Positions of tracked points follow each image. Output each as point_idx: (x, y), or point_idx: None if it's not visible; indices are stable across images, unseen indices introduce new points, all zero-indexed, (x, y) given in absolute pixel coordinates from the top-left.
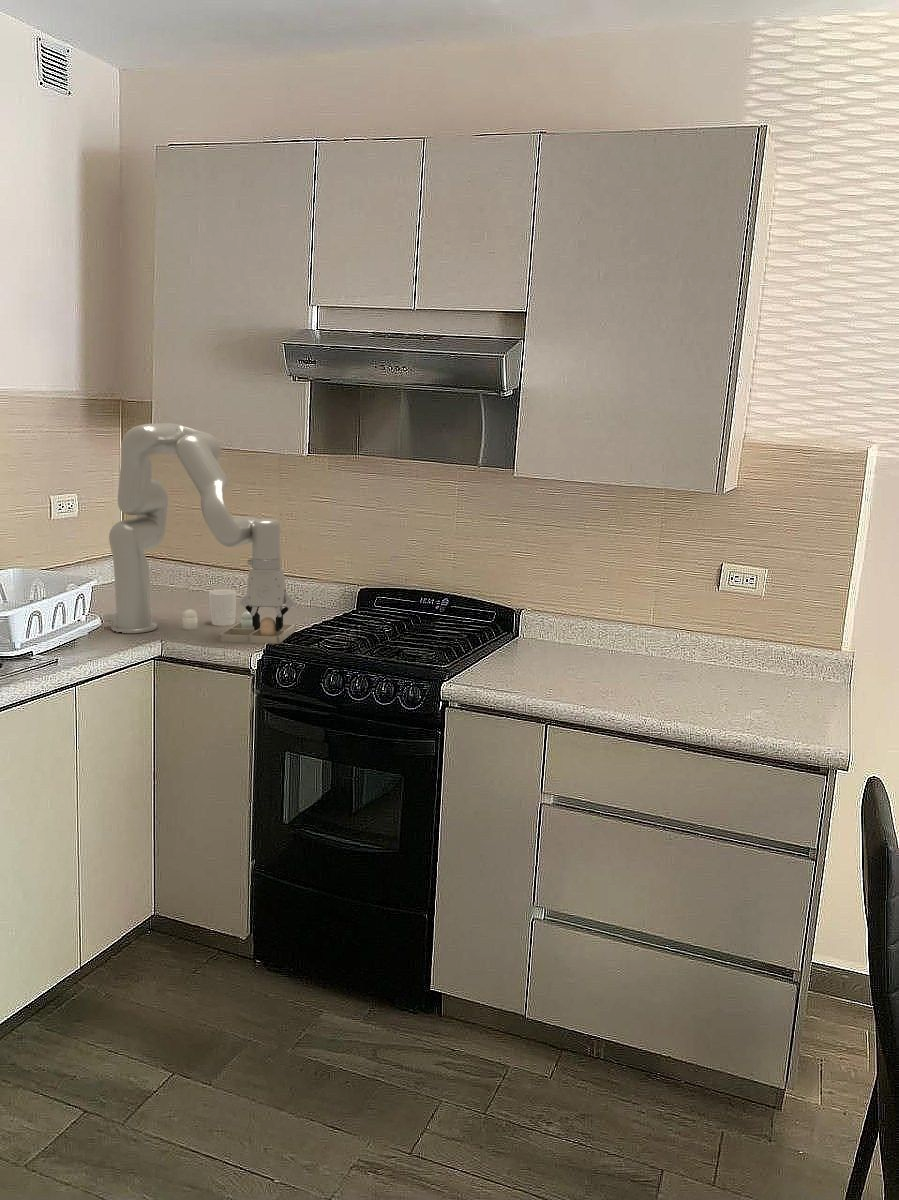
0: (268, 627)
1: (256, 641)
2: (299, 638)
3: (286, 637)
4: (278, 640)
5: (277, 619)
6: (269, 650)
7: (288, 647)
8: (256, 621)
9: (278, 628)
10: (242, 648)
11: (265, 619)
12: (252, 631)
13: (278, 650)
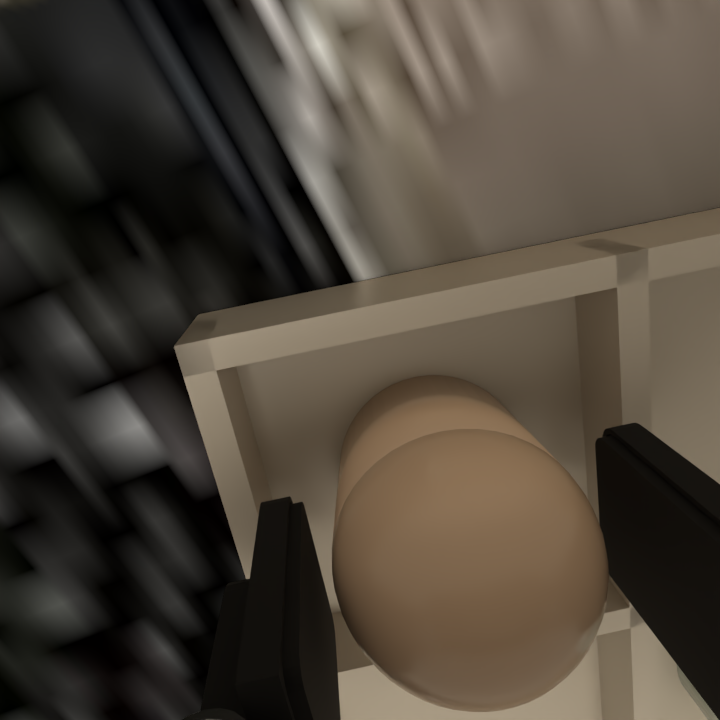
0: (393, 447)
1: (492, 264)
2: (190, 679)
3: None
4: (190, 330)
5: (250, 637)
6: (172, 28)
7: (44, 288)
8: (681, 509)
9: (262, 535)
10: (573, 6)
11: (509, 560)
12: None
13: (57, 77)
